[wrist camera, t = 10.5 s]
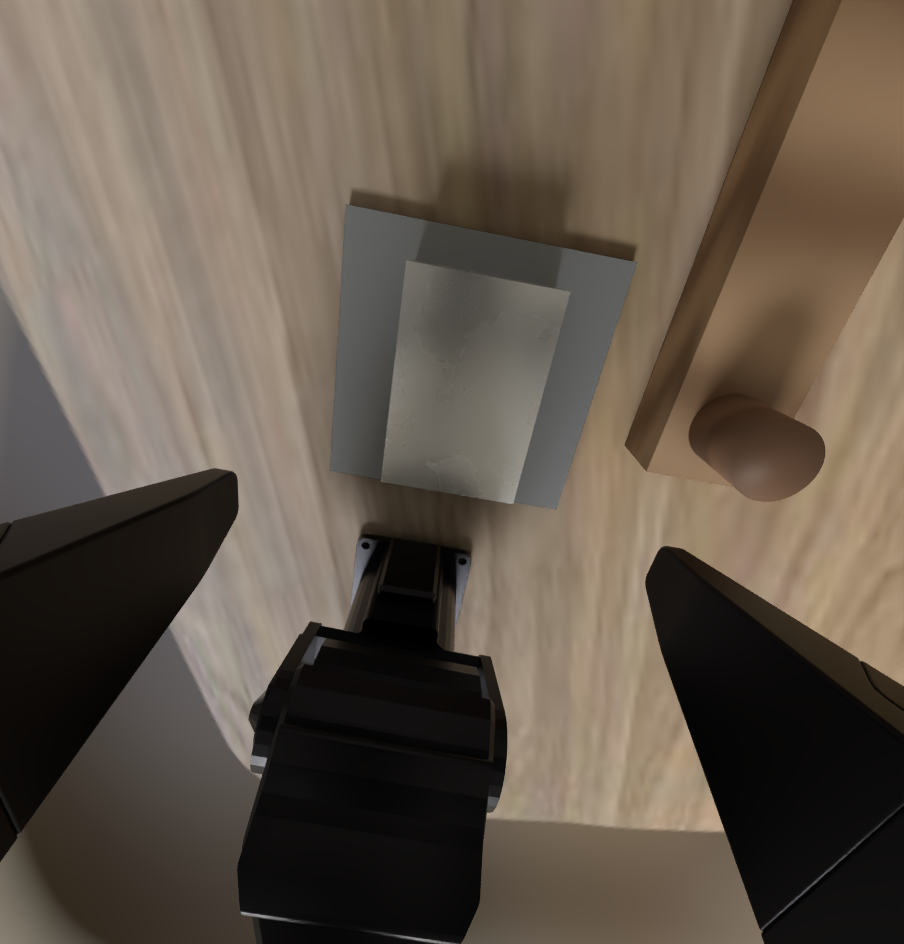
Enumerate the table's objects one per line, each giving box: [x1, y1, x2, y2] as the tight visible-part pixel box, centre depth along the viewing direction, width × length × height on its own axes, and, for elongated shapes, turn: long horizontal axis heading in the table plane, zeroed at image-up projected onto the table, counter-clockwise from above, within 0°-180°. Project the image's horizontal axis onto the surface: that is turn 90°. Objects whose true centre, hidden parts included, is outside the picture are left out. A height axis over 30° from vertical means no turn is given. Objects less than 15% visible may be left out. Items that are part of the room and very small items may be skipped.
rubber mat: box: [330, 204, 637, 509], centre depth 21 cm, size 12×12×1 cm
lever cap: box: [381, 260, 571, 504], centre depth 19 cm, size 9×6×3 cm, turn 170°
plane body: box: [625, 0, 904, 502], centre depth 14 cm, size 20×5×8 cm, turn 170°
